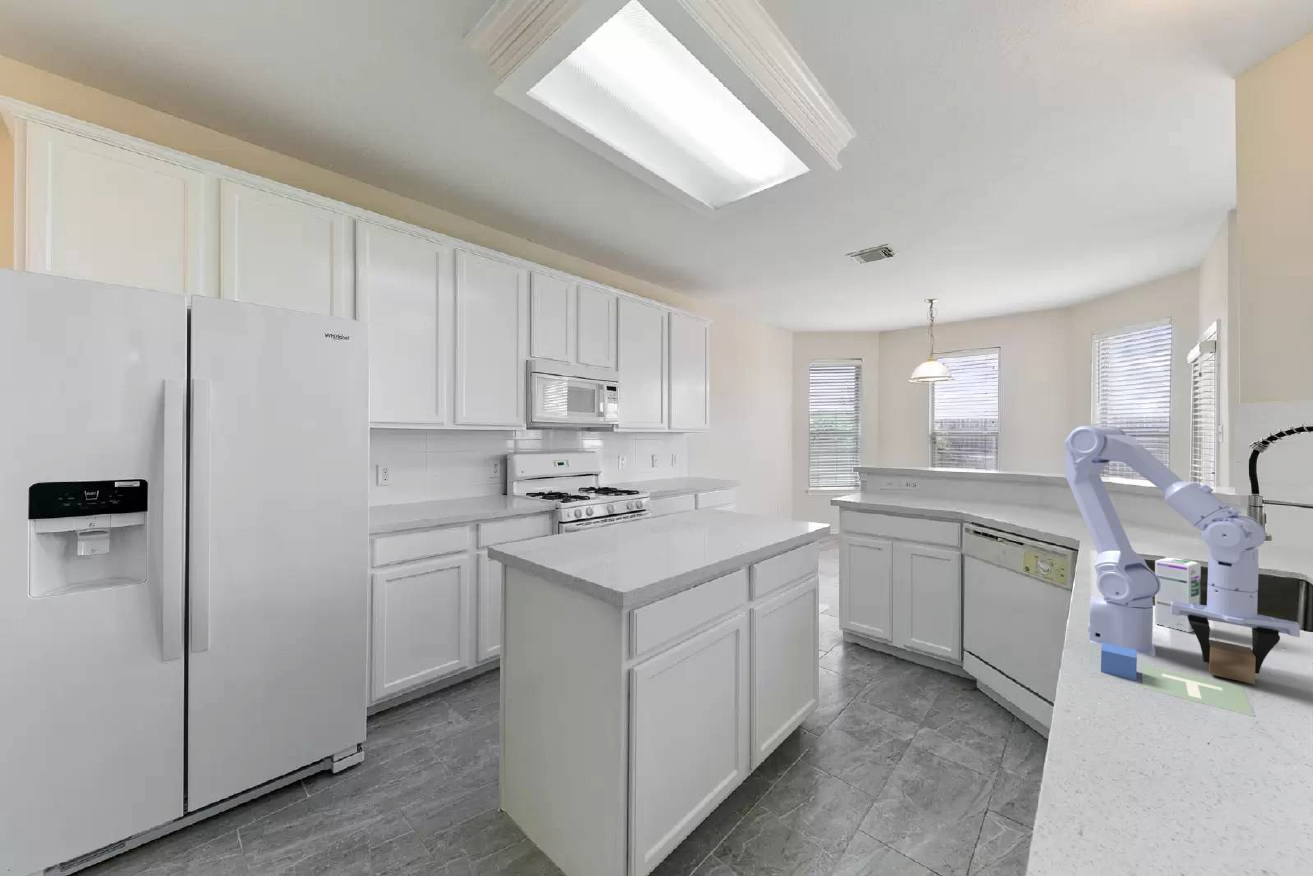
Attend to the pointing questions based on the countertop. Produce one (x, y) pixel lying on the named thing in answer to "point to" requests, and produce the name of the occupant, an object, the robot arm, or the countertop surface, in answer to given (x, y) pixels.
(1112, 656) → the blue cube
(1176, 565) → the syrup box
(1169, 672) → the board
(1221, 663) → the walnut block
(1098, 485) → the robot arm
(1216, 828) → the countertop surface
